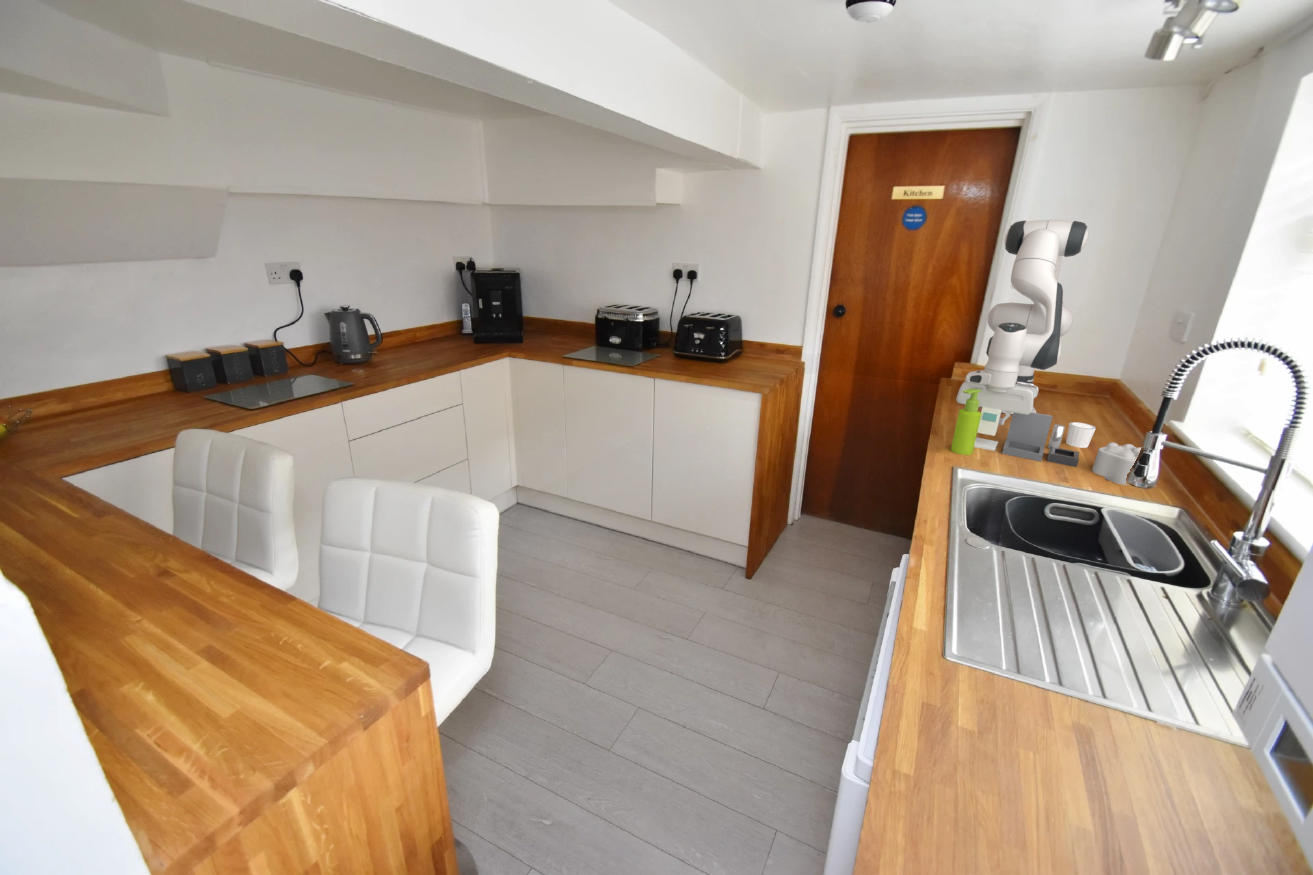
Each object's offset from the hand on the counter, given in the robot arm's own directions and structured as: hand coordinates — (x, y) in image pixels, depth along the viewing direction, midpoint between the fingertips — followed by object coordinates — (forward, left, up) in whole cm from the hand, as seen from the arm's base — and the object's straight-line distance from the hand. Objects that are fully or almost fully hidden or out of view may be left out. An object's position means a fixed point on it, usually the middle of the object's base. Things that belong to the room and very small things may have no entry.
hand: (988, 422), depth 176 cm
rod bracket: (0, +21, -8) cm, 22 cm away
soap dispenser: (+11, -5, -8) cm, 15 cm away
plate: (0, 0, -8) cm, 8 cm away
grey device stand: (0, +11, -8) cm, 13 cm away
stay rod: (-10, +18, -8) cm, 22 cm away
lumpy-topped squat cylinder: (+1, +34, -8) cm, 35 cm away
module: (0, 0, -3) cm, 3 cm away
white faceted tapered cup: (-19, +24, -8) cm, 32 cm away
